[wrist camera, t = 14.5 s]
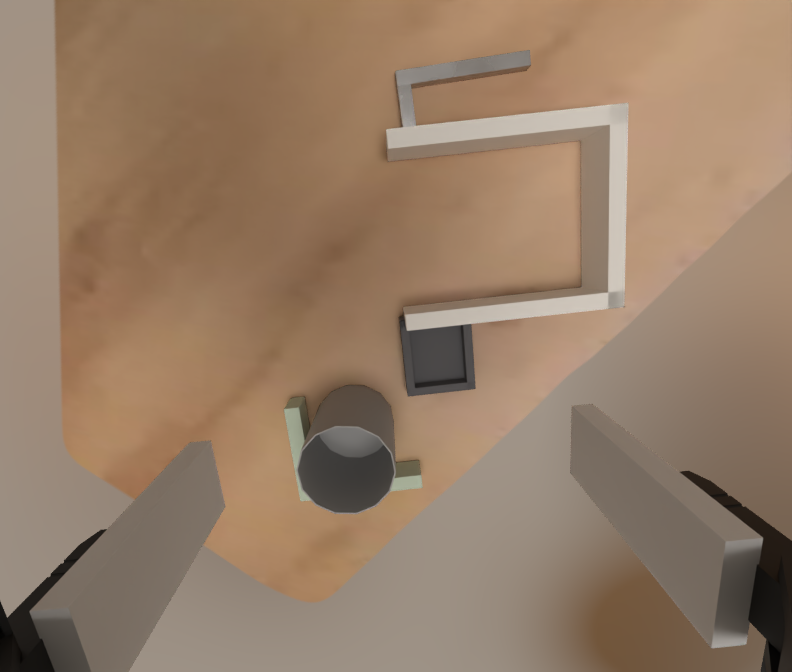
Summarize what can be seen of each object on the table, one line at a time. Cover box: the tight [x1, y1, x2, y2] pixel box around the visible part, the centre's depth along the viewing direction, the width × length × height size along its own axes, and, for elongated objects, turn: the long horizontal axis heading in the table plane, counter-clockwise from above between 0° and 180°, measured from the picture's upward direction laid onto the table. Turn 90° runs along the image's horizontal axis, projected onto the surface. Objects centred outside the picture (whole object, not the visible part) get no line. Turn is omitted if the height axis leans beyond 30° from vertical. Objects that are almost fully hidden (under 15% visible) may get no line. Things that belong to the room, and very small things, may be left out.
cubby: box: [386, 103, 628, 331], centre depth 37 cm, size 20×17×5 cm
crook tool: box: [395, 50, 531, 127], centre depth 36 cm, size 12×5×1 cm, turn 98°
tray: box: [399, 316, 475, 396], centre depth 41 cm, size 7×8×2 cm
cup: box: [296, 385, 396, 514], centre depth 38 cm, size 8×8×10 cm
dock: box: [284, 397, 423, 501], centre depth 42 cm, size 13×10×3 cm
